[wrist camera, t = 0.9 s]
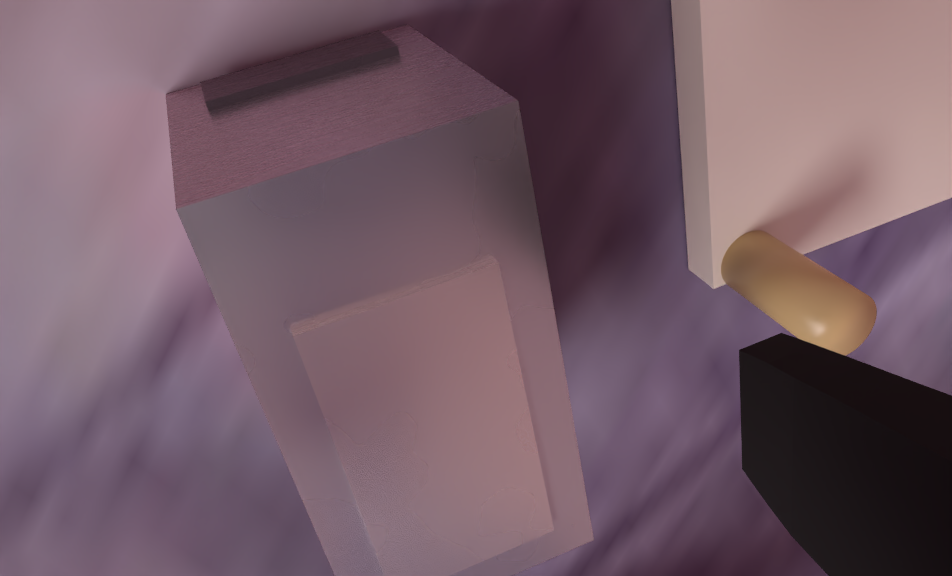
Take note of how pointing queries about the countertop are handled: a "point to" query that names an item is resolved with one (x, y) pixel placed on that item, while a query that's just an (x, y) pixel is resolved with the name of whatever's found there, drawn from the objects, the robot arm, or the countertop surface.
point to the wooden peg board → (807, 143)
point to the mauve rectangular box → (389, 301)
